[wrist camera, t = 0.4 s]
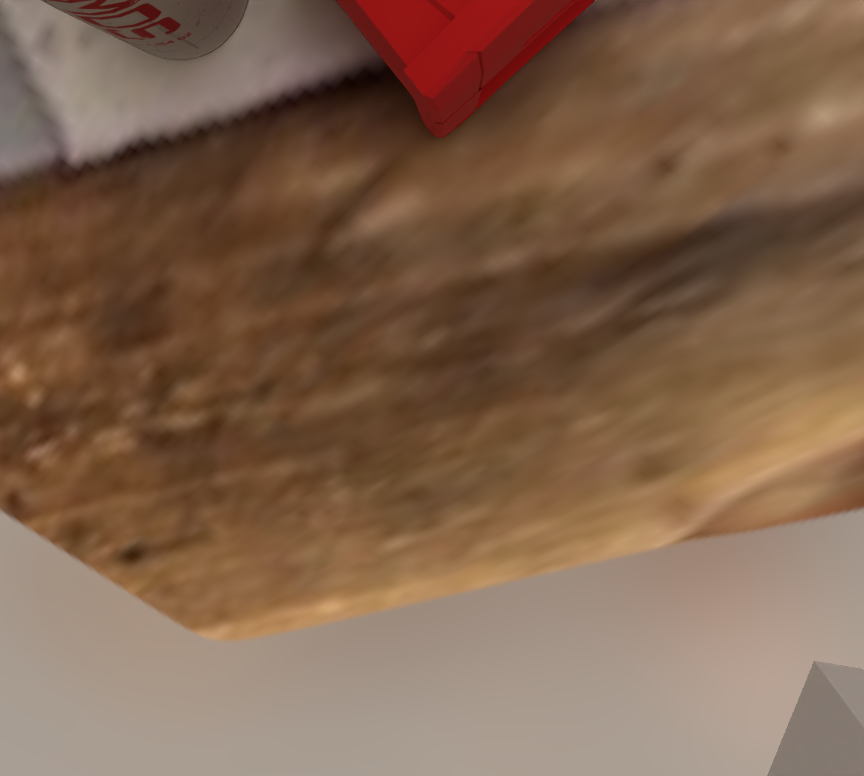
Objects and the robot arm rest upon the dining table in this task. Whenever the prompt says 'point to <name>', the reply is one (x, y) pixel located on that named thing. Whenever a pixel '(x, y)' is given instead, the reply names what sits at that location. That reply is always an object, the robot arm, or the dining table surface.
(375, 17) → the red rectangular block
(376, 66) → the dining table surface
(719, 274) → the dining table surface
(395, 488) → the dining table surface
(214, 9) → the thermos bottle
